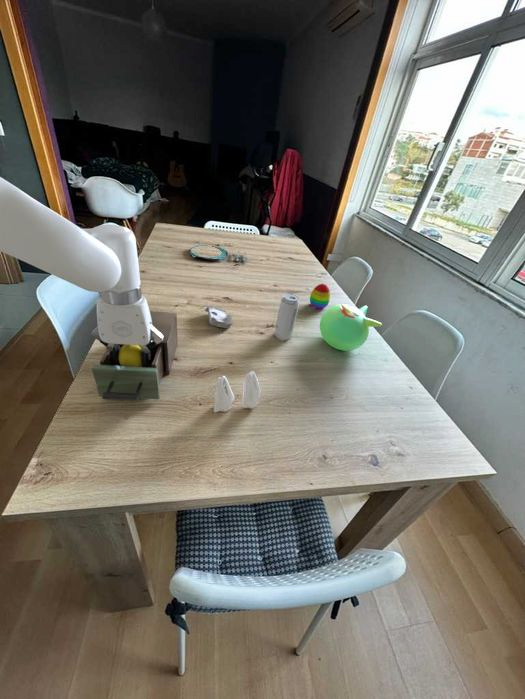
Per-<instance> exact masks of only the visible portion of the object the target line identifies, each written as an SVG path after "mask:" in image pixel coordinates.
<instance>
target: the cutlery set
mask: <svg viewBox="0 0 525 699" xmlns="http://www.w3.org/2000/svg"><path fill="white" fill-rule="evenodd" d="M199 246H204V244H199V245H193V246H192V247H191V248H190V249H189V253H190V256H191V255H193V256H195V258H199V259H203V260H212V261H213V260H215V261H216V260H219V261H222V259H223V260H226V259H227V257H228V256H229V252H228V251H227V249H225V248H223V247H221V246H213V245H211V246H212V247H215V248H217V249H219V250H220V251H221V252H222V253H221V255H220V256H217V257H209V258H208V257H207V258H205V257H204V258H203V257H201V256H200V257H199V255H197V254H195V253H193V251H191V249H192V248H195V247H199ZM205 246H207V245H206V244H205ZM244 252H245V253H244V257H240V255H241V254H240V253H241V251H240V250H238V251H237V254H239V255H238V256H237V257H236V258H237V259H236V258H235V260H236V261H237V262H242V261H243V262H244V263H248V257H247V254H246V253H247V252H246V251H244ZM232 255H234V257H235V253H234V254H233V253H232V254H231V256H232ZM193 256H191V257H192V258H193V259H195V258H194V257H193ZM234 257H233V258H232V257H231V261H232V262H234ZM238 257H239V258H238ZM210 258H217V259H210Z"/></svg>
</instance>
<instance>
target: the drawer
mask: <svg viewBox="0 0 525 699" xmlns="http://www.w3.org/2000/svg"><path fill="white" fill-rule="evenodd" d="M119 345H120V349H121V347H122V346H123V345H125V344H119ZM138 346H140V345H138ZM140 347H141V346H140ZM141 349H142V348H141ZM150 354H151V360H150V362H149V361H148V363H147V365H146V366H143V365H142V367H127V366H121V365H120V363H119V364H117V365H115V364H114V360H113V359H112V358H111V353H110V351H109V350H108V349H107V348H106V350H105V351H104V354H103V355H102V356H101V358H100V360H99V364H93V365H92V367H91V371H92V375H93V378H94V382H95V385H96V389H97V393H98V396H99V398H102V400H110V401H111V400H112V401H113V400H115V401H134V402H135V401H139V399H143V400H147V399H148V400H160V397H161V391H160V385H161V382H162V378H163V375H164V374H163V372H164V369H165V365H166V364H165V350H164V345H158V344H157V345H156V346H155V347H154V348H152V349H151V350H150Z"/></svg>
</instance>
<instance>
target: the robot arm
mask: <svg viewBox="0 0 525 699" xmlns="http://www.w3.org/2000/svg"><path fill="white" fill-rule="evenodd" d="M0 252H1V253H4V254H6V255H8V256H11V257H13V258H15V259H18V260H20V261H22V262H24V263H26V264H28V265H30V266H33V267H35V268H37V269H39V270H41V271H44V272H46V273H48V274H50V275H52V276H55V277H57V278H58V279H61V280H63V281H65V282H68V283H69V284H71V285H73V286H76V287H77V288H81V289H82V290H85V291H88V292H91V293H98V294H99V296H98V297H97V298H96V322H97V323H96V324H97V326H96V327H95V328H94V329H93V330H92V331H91V333H90V336H91V337H92V338H93V339H95V340H97V341H98V342H99V343H100V344H102V345H103V346H104V347H105V348H106V347H107V348H106V350H107V349H108V350H109V351H110V353H111V358H112V359H113V360H114V364H115V365H117V364H119V359H118V356H119V351H120V345H119V344H125V345H140V346H141V348H142V353H141V356H142V364H143V366H146V365H147V363H148V361H149V362H150V360H151V354H150V350H151V349H152V348H154V347H155V346H156V345H157V344H159V343H160V342H162V341H163V338H164V336H163V335H162V334H161V333H160V332H159V331H158V330H156V329H155V328H154V327H153V326H152V320H151V315H150V311H151V310H150V308H149V304H148V301H147V299H146V296H144V295H143V292H142V284H141V283H142V282H141V276H140V275H141V274H140V265H139V256H138V248H137V240H136V236H135V234H134V232H133V230H131V229H130V228H128V227H126V226H122V225H117V224H102V225H97V226H94V227H93V228H81V227H80V226H78V225H77V224H75V223H73V222H72V221H70V220H69V219H67V218H66V217H64V216H62V215H60V214H59V213H58V212H56V211H54V210H53V209H51V208H49V207H48V206H46V205H44V204H43V203H41V202H39V201H38V200H36V199H35V198H33V197H32V196H30V195H29V194H27V193H26V192H24V191H23V190H21V189H20V188H19V187H17V186H15V185H14V184H12V183H11V182H9V181H8V180H6V179H4V178H3V177H1V176H0ZM151 335H152V336H153V337H154V339H152V340H151V341H150V336H151Z"/></svg>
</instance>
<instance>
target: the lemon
mask: <svg viewBox="0 0 525 699" xmlns="http://www.w3.org/2000/svg"><path fill="white" fill-rule="evenodd" d="M141 353H142V349H141V347H140V346H138V345H123V346H122V347H121V349H120V351H119V356H118V359H119V363H120V365H121V366H127V367H142V365H143V364H142V356H141Z"/></svg>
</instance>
